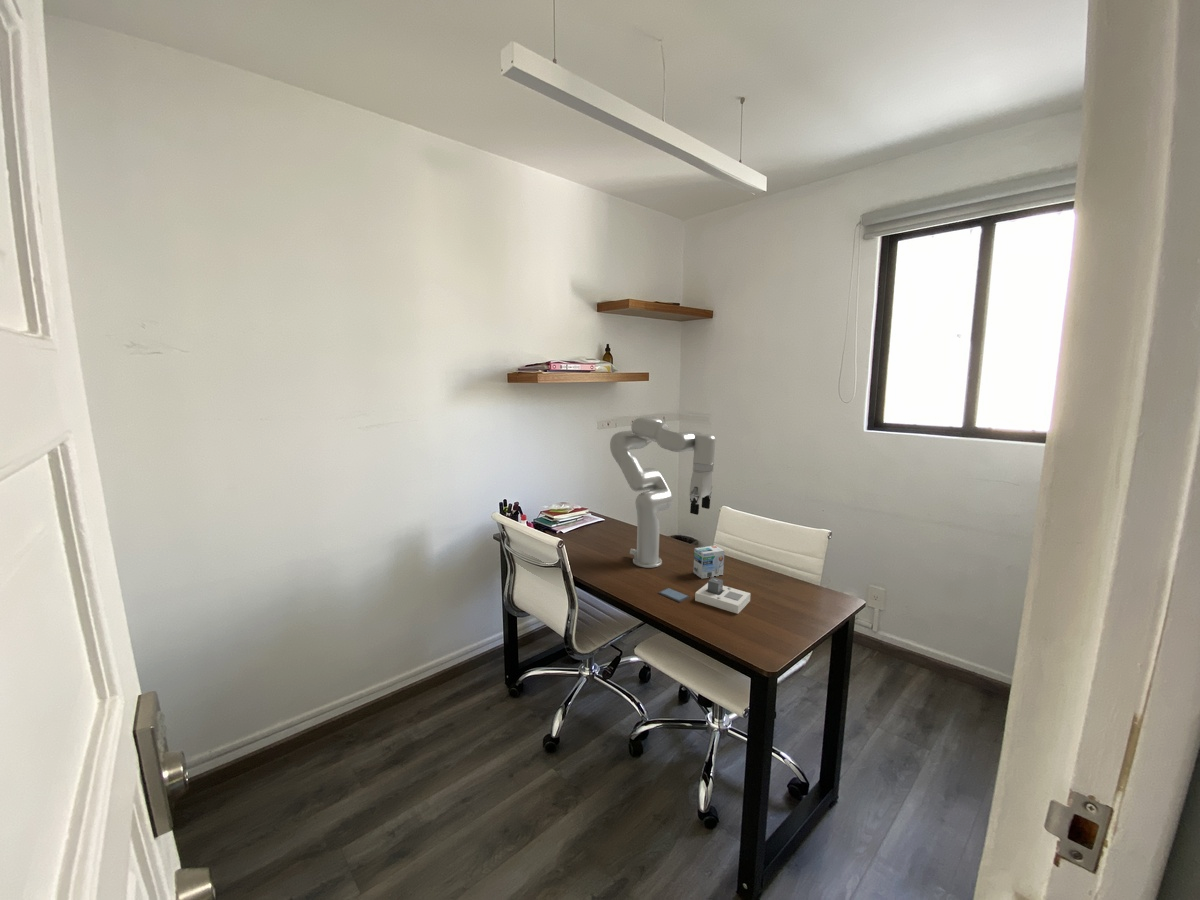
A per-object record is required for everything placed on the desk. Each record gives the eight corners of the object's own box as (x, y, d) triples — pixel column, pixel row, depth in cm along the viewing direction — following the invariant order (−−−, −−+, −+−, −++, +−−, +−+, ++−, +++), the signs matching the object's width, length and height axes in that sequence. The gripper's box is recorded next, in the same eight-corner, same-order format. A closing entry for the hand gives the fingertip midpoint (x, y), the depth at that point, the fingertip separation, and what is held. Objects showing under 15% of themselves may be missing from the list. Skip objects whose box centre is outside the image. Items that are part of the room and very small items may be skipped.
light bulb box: (701, 579, 191) (703, 553, 190) (692, 572, 197) (693, 547, 196) (723, 575, 195) (725, 550, 194) (714, 569, 201) (715, 544, 200)
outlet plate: (694, 600, 173) (695, 592, 172) (708, 588, 183) (709, 581, 182) (737, 613, 164) (738, 605, 163) (750, 601, 173) (750, 592, 173)
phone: (658, 594, 178) (658, 592, 178) (668, 590, 183) (668, 587, 182) (679, 604, 171) (680, 601, 171) (689, 598, 175) (689, 596, 175)
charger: (707, 598, 174) (708, 580, 173) (711, 595, 178) (712, 576, 177) (717, 602, 172) (718, 583, 171) (722, 598, 175) (723, 579, 174)
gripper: (703, 462, 189) (700, 504, 192) (683, 469, 175) (680, 514, 178) (721, 465, 184) (718, 508, 187) (702, 472, 171) (699, 518, 174)
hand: (700, 510), depth 183 cm, fingers open, 9 cm apart
